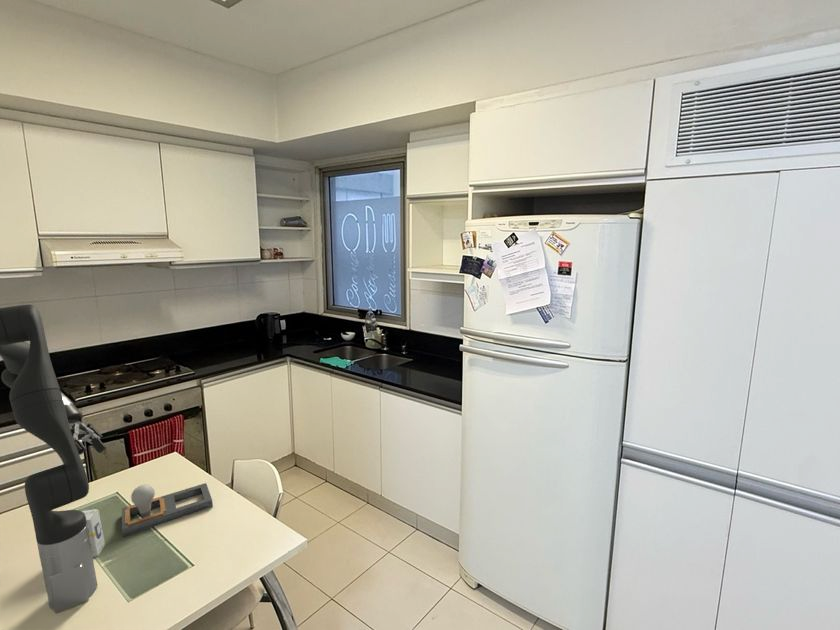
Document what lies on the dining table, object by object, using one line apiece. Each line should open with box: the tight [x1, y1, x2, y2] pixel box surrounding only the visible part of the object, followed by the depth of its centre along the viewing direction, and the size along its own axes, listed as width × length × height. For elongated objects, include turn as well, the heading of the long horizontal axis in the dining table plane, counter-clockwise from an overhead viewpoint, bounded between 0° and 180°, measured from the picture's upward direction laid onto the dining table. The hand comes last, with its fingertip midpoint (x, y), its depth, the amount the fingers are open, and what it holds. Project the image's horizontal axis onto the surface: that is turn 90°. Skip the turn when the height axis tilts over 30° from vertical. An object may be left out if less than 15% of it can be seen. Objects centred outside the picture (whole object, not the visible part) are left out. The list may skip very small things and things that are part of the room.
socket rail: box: [121, 482, 214, 538], centre depth 136 cm, size 12×24×3 cm, turn 125°
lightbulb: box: [130, 484, 156, 519], centre depth 132 cm, size 6×6×11 cm
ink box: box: [81, 508, 106, 558], centre depth 117 cm, size 9×5×12 cm, turn 105°
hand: (93, 451), depth 124 cm, fingers open, 8 cm apart
